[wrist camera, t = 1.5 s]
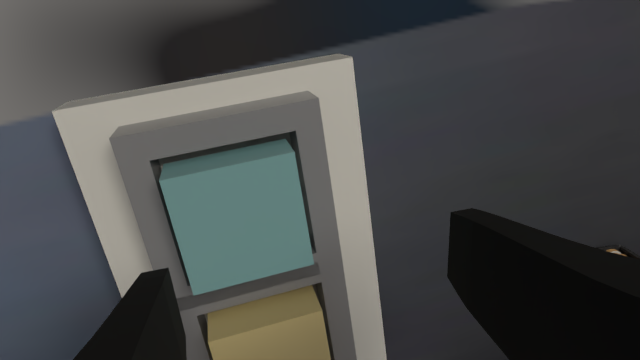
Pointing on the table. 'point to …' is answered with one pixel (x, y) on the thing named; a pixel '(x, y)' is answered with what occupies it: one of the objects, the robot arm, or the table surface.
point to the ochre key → (270, 329)
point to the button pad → (223, 135)
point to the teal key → (237, 215)
